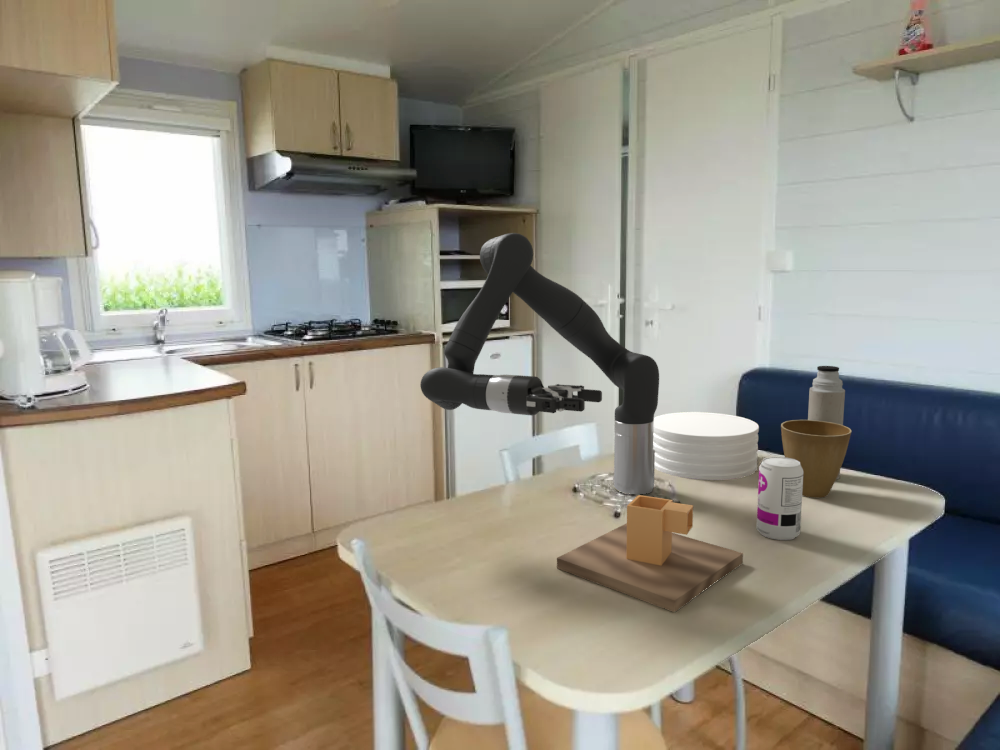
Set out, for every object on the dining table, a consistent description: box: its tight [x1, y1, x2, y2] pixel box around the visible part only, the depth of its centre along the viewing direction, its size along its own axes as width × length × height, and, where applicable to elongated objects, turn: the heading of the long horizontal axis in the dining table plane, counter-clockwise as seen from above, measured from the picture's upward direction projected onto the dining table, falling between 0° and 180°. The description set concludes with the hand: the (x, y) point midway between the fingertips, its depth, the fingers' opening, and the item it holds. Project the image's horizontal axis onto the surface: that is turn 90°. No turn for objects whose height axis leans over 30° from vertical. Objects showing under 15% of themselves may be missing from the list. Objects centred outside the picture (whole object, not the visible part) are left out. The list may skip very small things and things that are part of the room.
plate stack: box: [653, 411, 760, 481], centre depth 188 cm, size 28×28×12 cm
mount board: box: [556, 522, 744, 613], centre depth 127 cm, size 24×24×2 cm
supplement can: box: [756, 456, 803, 541], centre depth 139 cm, size 8×8×15 cm
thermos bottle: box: [807, 365, 846, 480], centre depth 174 cm, size 8×8×28 cm
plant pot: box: [780, 419, 852, 499], centre depth 162 cm, size 15×15×16 cm
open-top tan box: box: [626, 495, 694, 566], centre depth 125 cm, size 10×6×10 cm, turn 61°
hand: (592, 400), depth 127 cm, fingers open, 8 cm apart
